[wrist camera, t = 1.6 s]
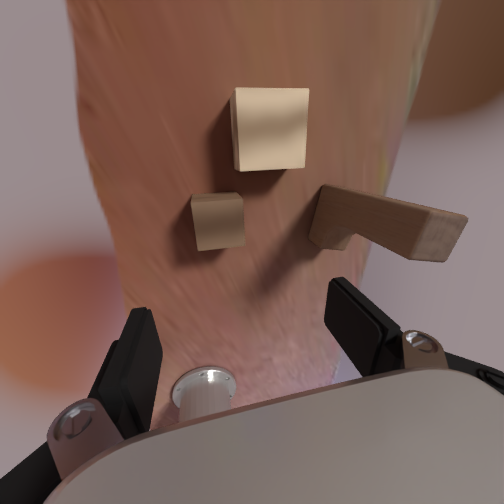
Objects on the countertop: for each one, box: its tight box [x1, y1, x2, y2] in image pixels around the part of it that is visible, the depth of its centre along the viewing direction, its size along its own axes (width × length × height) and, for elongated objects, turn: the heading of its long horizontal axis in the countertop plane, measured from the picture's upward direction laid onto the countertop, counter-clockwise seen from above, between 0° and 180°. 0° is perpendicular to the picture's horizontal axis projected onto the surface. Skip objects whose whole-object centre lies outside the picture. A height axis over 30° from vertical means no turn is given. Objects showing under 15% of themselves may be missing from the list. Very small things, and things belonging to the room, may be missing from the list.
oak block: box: [230, 88, 309, 171], centre depth 27 cm, size 8×8×5 cm
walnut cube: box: [191, 191, 245, 251], centre depth 30 cm, size 6×6×6 cm
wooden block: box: [308, 184, 468, 262], centre depth 28 cm, size 9×4×18 cm, turn 170°
